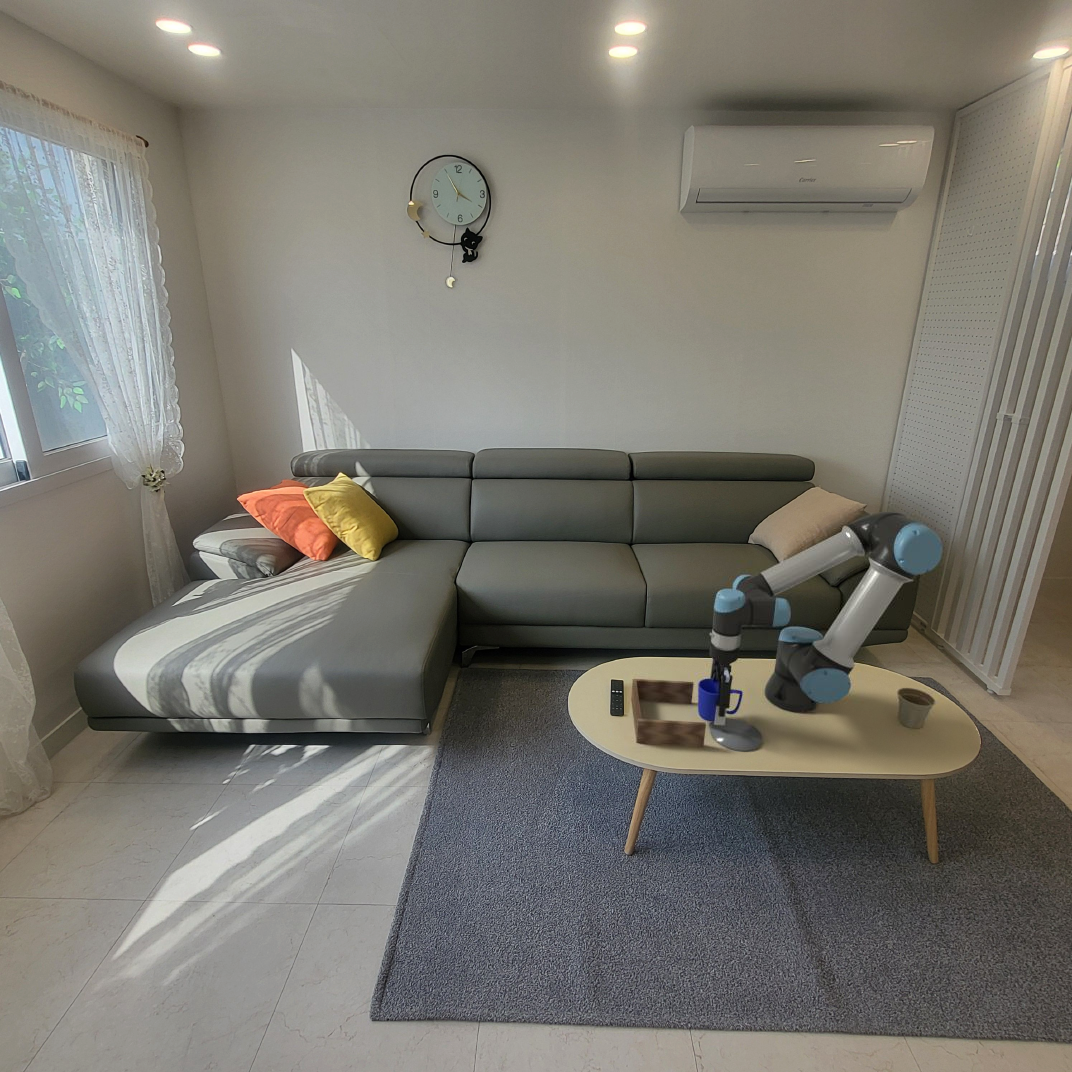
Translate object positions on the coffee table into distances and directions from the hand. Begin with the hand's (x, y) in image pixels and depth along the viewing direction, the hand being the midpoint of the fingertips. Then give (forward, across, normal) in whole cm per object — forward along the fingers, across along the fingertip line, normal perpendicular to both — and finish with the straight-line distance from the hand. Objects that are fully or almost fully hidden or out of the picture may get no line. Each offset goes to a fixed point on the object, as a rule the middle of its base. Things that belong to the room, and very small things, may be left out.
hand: (716, 715), depth 174 cm
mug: (0, 0, 0) cm, 0 cm away
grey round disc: (+3, +4, +5) cm, 7 cm away
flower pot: (+4, -6, +57) cm, 57 cm away
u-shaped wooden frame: (+3, 0, -14) cm, 15 cm away
